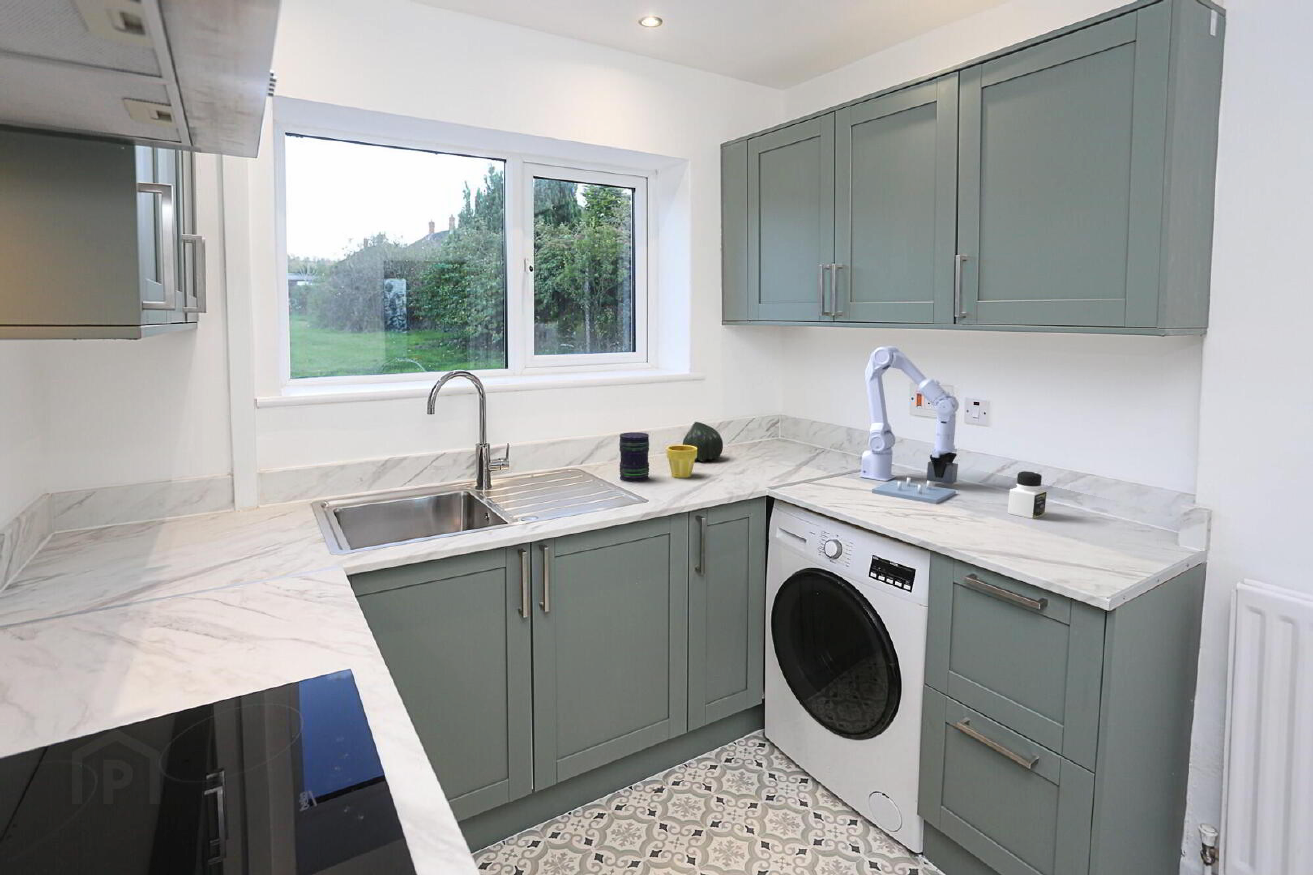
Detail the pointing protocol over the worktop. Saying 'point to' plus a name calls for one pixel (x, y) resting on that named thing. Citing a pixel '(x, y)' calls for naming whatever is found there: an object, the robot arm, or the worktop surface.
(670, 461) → the plant pot
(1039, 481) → the medicine bottle
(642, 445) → the storage jar
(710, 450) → the squash
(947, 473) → the grey notched block
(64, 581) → the worktop surface
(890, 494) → the tray
